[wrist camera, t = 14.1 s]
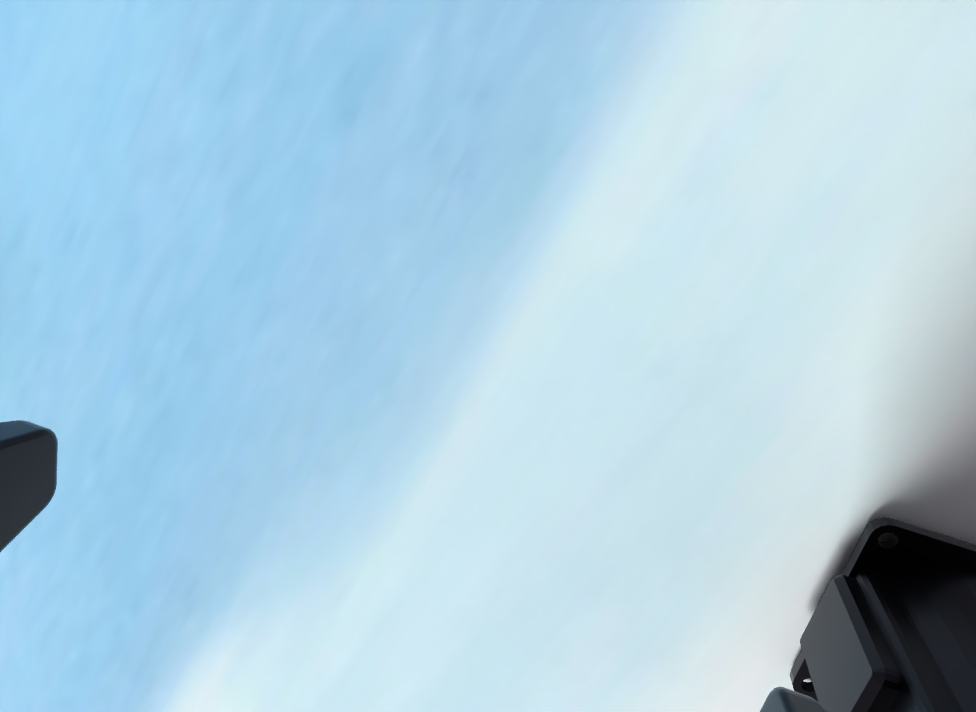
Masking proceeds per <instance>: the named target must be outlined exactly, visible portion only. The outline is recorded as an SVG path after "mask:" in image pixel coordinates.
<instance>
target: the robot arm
mask: <svg viewBox="0 0 976 712" xmlns="http://www.w3.org/2000/svg"><path fill="white" fill-rule="evenodd" d="M57 447H58V442H57V438H56V435H55V433H54V432H53V431H51V430H50V429H48V428H45V427H42V426H39V425H36V424H34V423H31V422H27V421H21V420H19V421H10V422H1V423H0V552H1V551H2V550H3V549H4V548H5V547H6V546H7V545H8V544H9V543H10V542H11V541H12V540H13V539H14V538H15V537H16V536H17V535H18V534H19V533H20V532H21V531H22V530H23V529H24V528H25V527H26V526H27V525H28V524H29V523H30V522H31V521H32V520H33V519H34V518H35V517H36V516H37V515H38V514H39V513H40V512H41V511H42V510H43V509H44V508H45V507H46V506H47V505H48V503H49V502H50V501H51V499H52V497H53V495H54V493H55V490H56V484H57ZM884 533H893V536H892V537H891V538H890V539H889V540H886V541H881V540H878V539H879V537H880V536H881V535H882V534H884ZM800 643H801V647H802V650H801V652H800V654H799V656H798V658H797V660H796V662H795V664H794V666H793V668H792V669H791V673H790V677H791V681H792V685H793V688H794V690H795V691H796V692H795V691H792V690H790V689H787V688H784V687H777V688H774V689H773V690H772V691H771V692H770V694H769V695H768V697H767V699H766V701H765V703H764V705H763V707H762V709H761V711H760V712H976V545H973V544H969V543H966V542H963V541H960V540H957V539H954V538H951V537H947V536H944V535H941V534H938V533H935V532H932V531H929V530H925V529H922V528H919V527H916V526H913V525H910V524H907V523H903V522H900V521H897V520H894V519H890V518H878V519H875V520H873V521H872V522H870V523H869V524H868V525H867V527H866V528H865V530H864V532H863V534H862V536H861V538H860V540H859V541H858V543H857V545H856V547H855V549H854V551H853V553H852V555H851V557H850V559H849V561H848V562H847V564H846V566H845V568H844V570H843V572H842V574H840V575H837V576H836V577H834V578H832V579H831V581H830V583H829V585H828V587H827V589H826V591H825V593H824V594H823V596H822V598H821V600H820V602H819V604H818V606H817V608H816V610H815V612H814V614H813V616H812V618H811V620H810V621H809V623H808V625H807V627H806V629H805V631H804V633H803V635H802V637H801V639H800ZM808 678H810V679H812V682H803V680H804V679H808ZM818 702H819V703H818Z"/></svg>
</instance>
